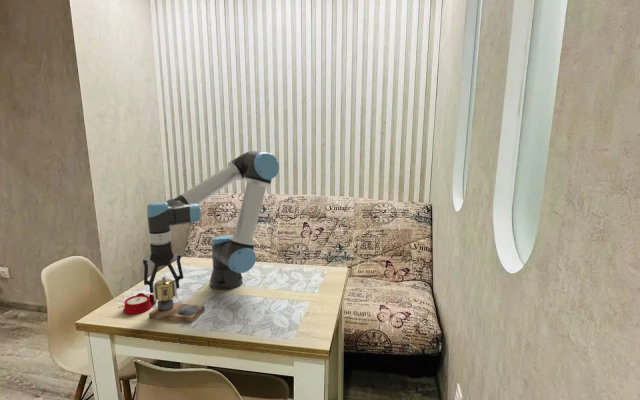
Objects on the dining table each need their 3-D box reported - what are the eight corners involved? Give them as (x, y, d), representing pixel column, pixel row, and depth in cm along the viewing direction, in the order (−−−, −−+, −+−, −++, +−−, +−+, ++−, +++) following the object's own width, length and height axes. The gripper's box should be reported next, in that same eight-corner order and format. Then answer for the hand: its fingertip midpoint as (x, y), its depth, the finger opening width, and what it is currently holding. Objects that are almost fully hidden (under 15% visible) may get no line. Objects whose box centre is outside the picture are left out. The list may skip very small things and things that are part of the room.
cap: (155, 295, 148) (154, 278, 147) (174, 291, 151) (172, 275, 149) (156, 302, 142) (154, 284, 140) (175, 298, 145) (173, 281, 143)
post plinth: (149, 318, 143) (147, 295, 142) (164, 306, 153) (162, 284, 151) (191, 322, 140) (190, 298, 138) (204, 310, 150) (203, 288, 148)
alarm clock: (114, 306, 146) (139, 283, 159) (118, 318, 148) (143, 295, 161) (137, 309, 143) (160, 286, 157) (140, 321, 146) (164, 298, 159)
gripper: (131, 248, 135) (137, 307, 139) (188, 241, 143) (192, 296, 147) (132, 243, 141) (137, 299, 146) (186, 236, 150) (190, 289, 154)
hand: (165, 297), depth 146 cm, fingers closed on cap, 7 cm apart
